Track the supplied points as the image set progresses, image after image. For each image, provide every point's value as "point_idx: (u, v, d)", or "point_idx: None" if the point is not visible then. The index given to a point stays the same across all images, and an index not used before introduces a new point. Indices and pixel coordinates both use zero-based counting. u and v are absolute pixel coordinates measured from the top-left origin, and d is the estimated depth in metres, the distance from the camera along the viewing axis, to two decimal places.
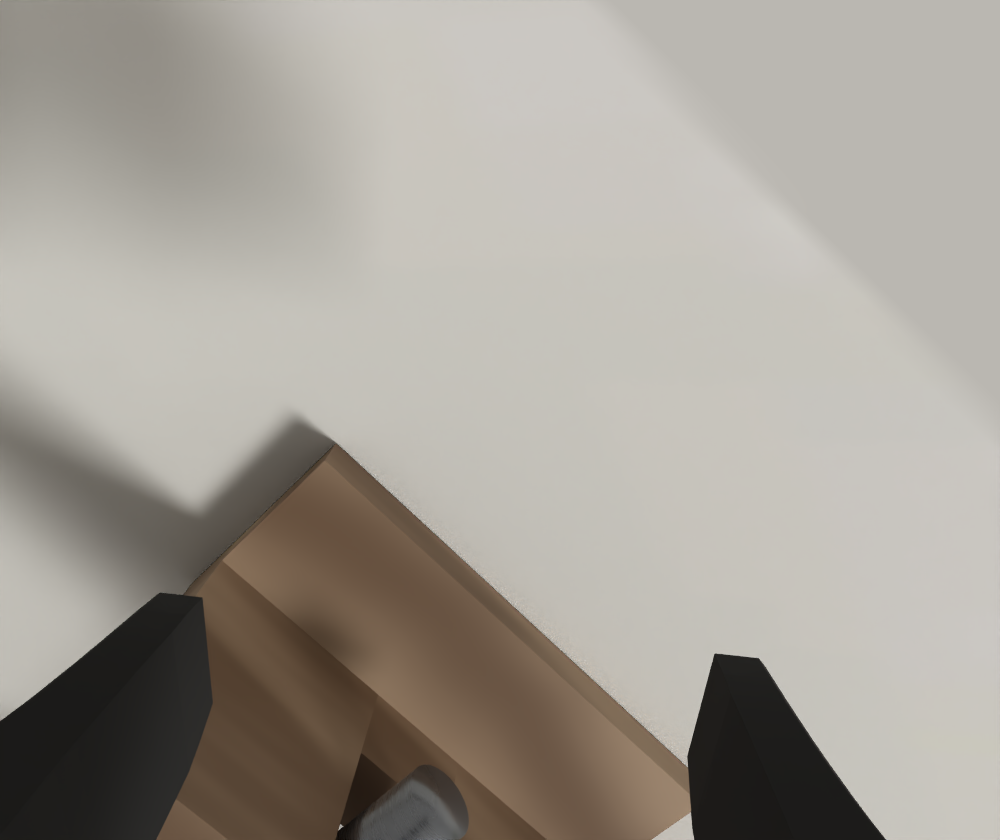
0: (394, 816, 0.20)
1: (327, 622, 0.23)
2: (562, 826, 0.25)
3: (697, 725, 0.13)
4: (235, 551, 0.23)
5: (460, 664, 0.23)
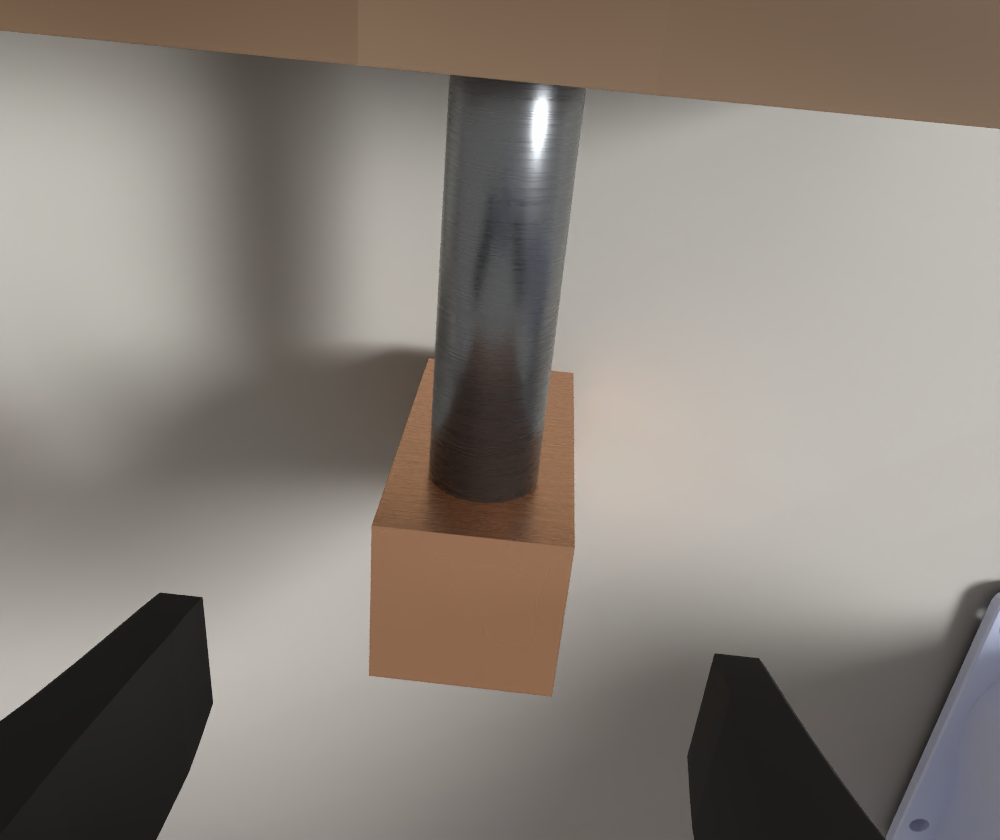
0: None
1: None
2: None
3: (696, 725, 0.13)
4: None
5: None
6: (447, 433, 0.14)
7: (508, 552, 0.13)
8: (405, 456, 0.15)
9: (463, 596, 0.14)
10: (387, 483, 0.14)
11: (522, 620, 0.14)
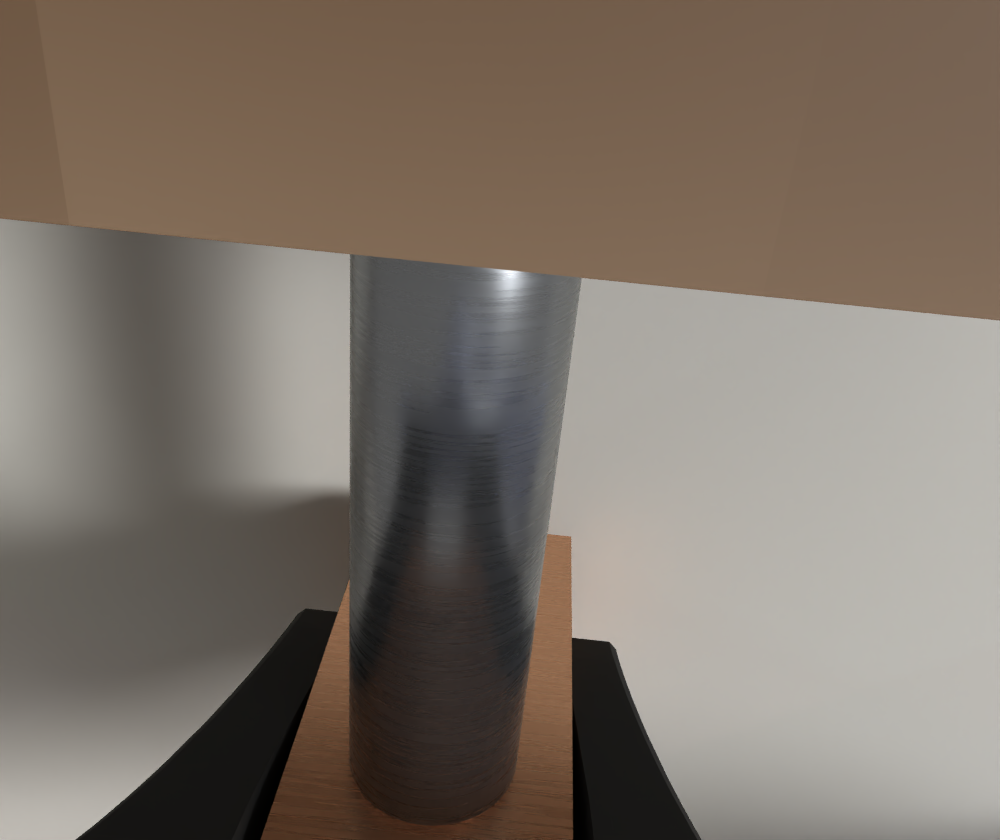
0: None
1: None
2: None
3: None
4: None
5: None
6: (369, 725, 0.08)
7: None
8: (316, 721, 0.10)
9: None
10: (280, 786, 0.09)
11: None
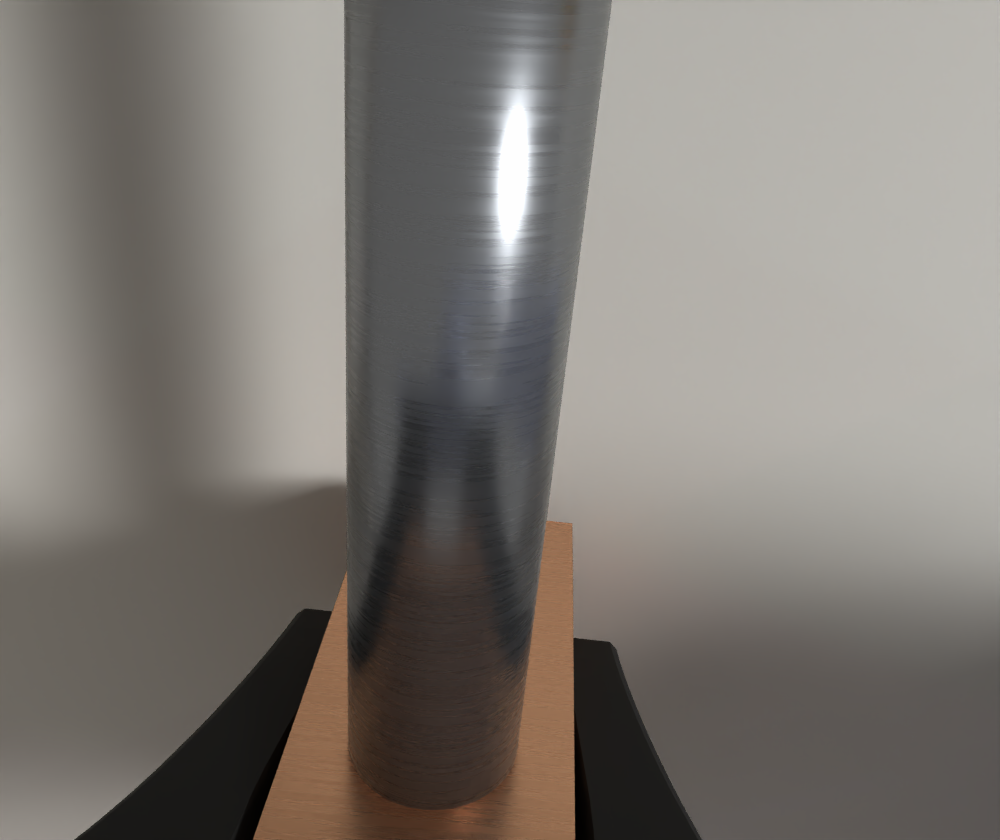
0: None
1: None
2: None
3: None
4: None
5: None
6: (368, 707, 0.08)
7: None
8: (314, 706, 0.10)
9: None
10: (278, 771, 0.09)
11: None
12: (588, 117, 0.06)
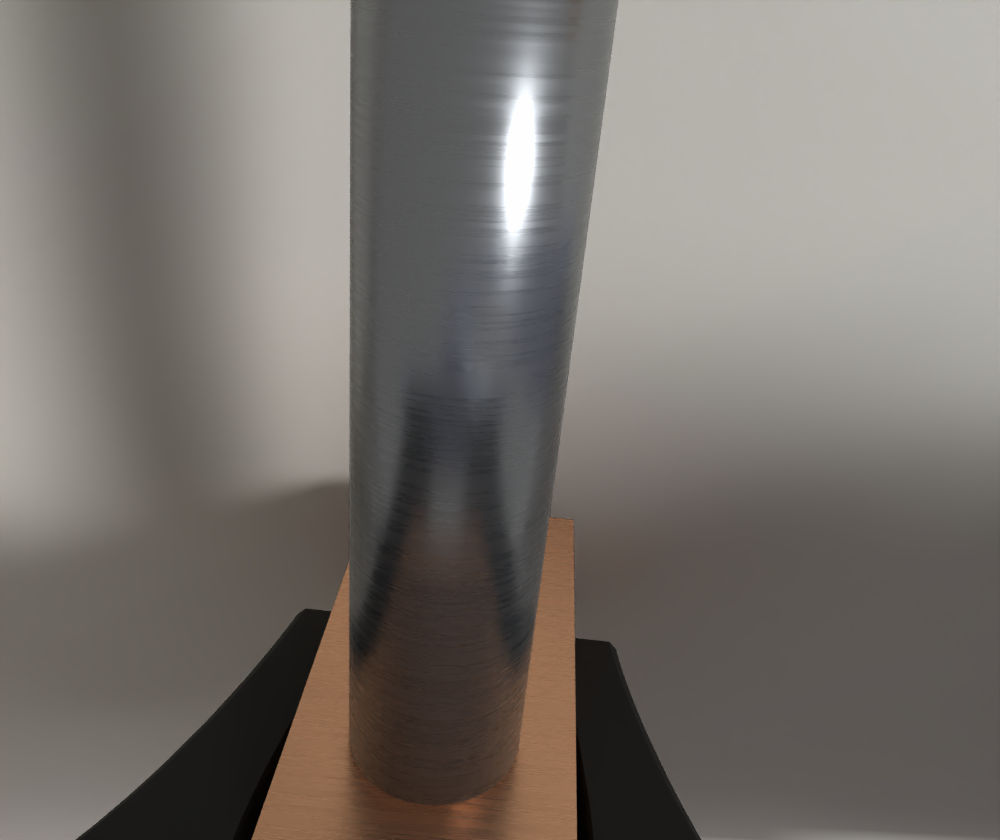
0: None
1: None
2: None
3: None
4: None
5: None
6: (369, 701, 0.08)
7: None
8: (315, 701, 0.10)
9: None
10: (279, 766, 0.09)
11: None
12: (595, 107, 0.06)
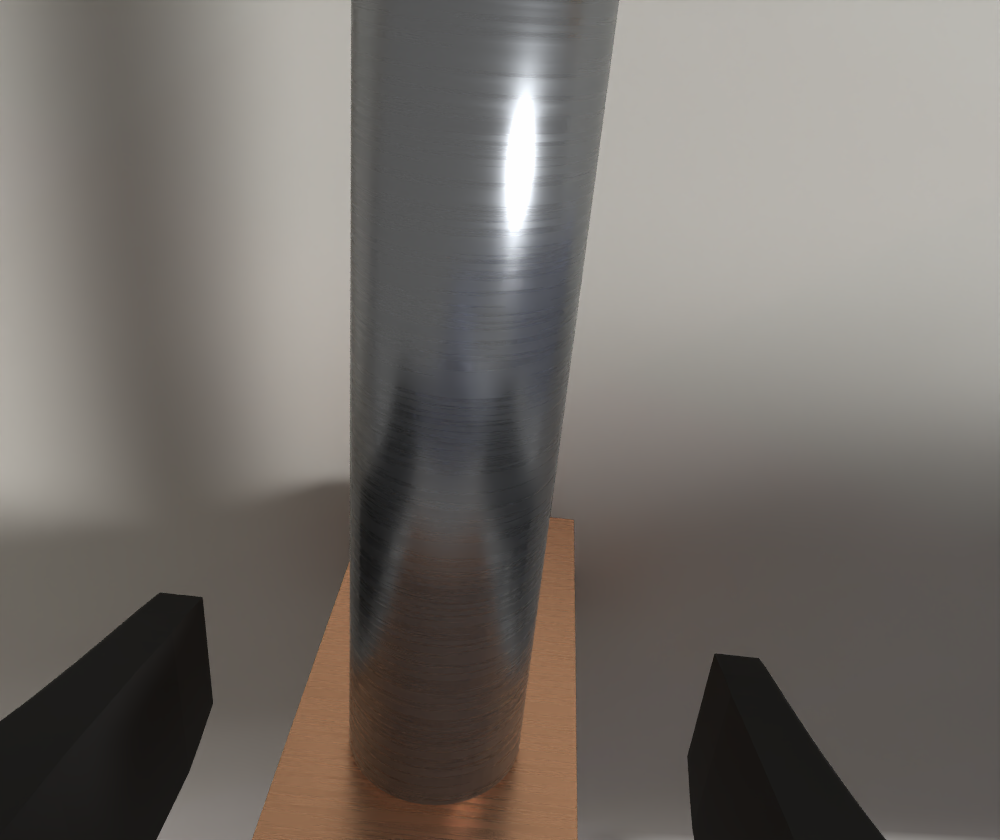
0: None
1: None
2: None
3: (697, 725, 0.13)
4: None
5: None
6: (369, 701, 0.08)
7: None
8: (316, 701, 0.10)
9: None
10: (279, 765, 0.09)
11: None
12: (596, 107, 0.06)
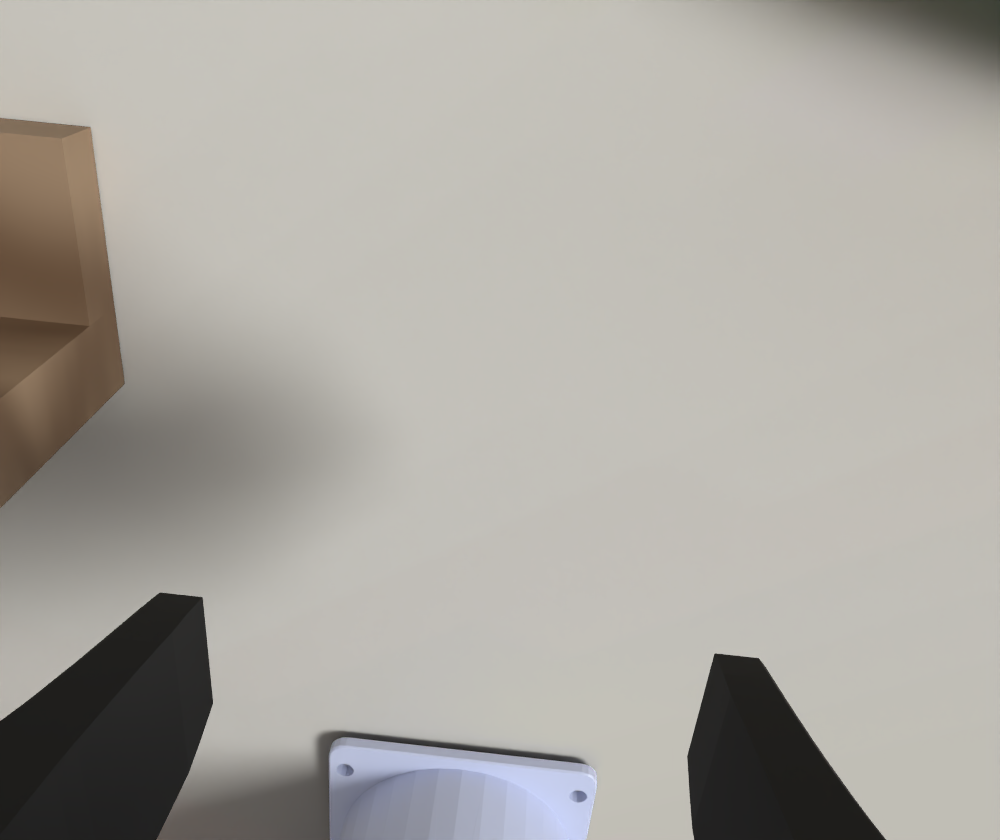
0: None
1: None
2: None
3: (697, 725, 0.13)
4: None
5: None
6: None
7: None
8: None
9: None
10: None
11: None
12: None
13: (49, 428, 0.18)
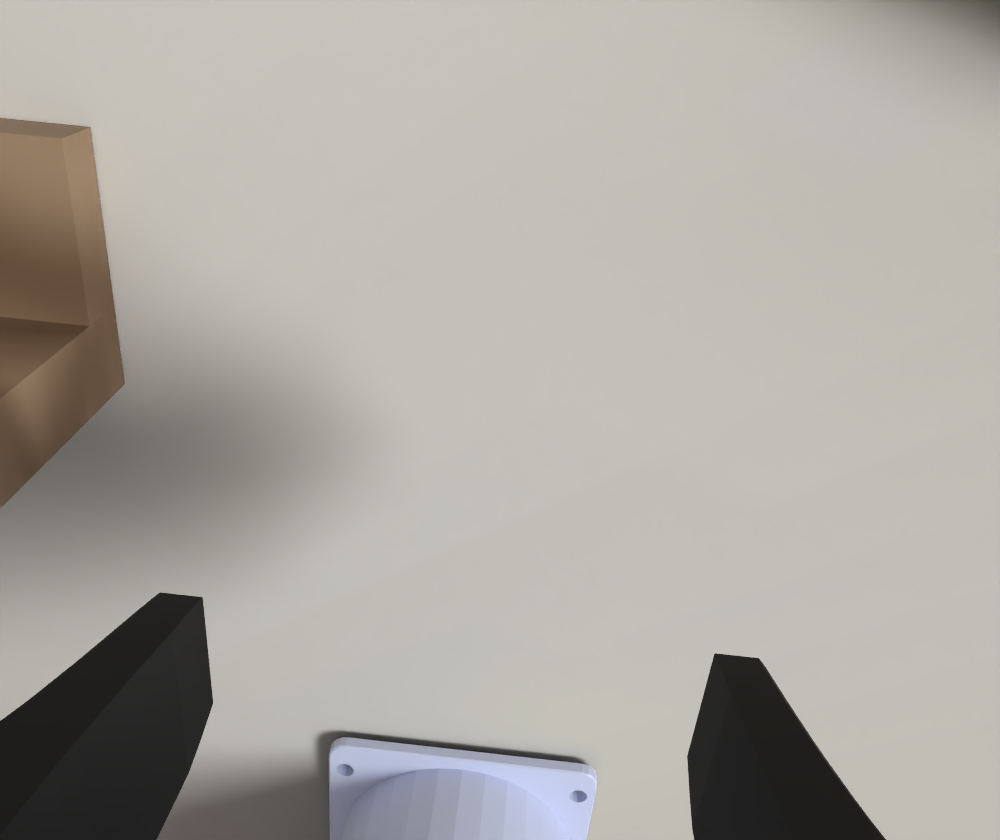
0: None
1: None
2: None
3: (697, 725, 0.13)
4: None
5: None
6: None
7: None
8: None
9: None
10: None
11: None
12: None
13: (49, 428, 0.18)
